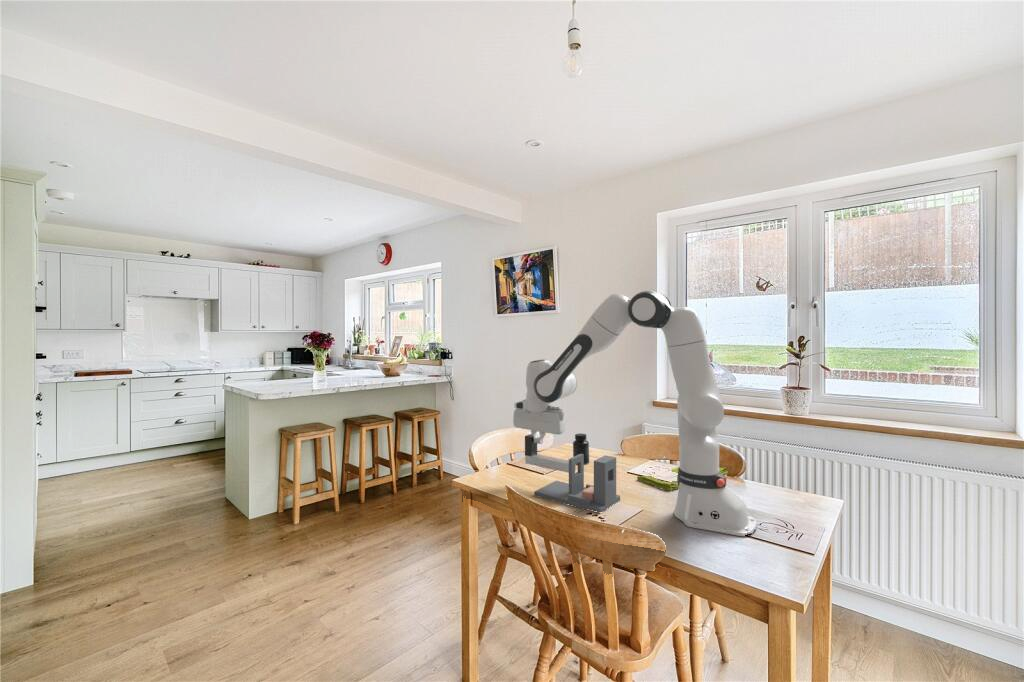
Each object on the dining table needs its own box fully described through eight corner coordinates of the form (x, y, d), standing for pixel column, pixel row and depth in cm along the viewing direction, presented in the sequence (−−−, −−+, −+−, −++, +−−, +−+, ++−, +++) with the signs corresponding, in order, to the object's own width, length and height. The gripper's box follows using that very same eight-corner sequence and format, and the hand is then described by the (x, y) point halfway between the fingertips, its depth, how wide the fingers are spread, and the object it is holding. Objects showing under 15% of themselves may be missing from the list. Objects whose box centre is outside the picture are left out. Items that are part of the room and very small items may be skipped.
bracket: (620, 500, 149) (620, 455, 149) (600, 513, 138) (600, 465, 138) (556, 484, 165) (556, 443, 164) (534, 495, 153) (534, 452, 153)
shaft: (575, 470, 153) (575, 441, 153) (570, 473, 151) (570, 443, 150) (530, 461, 165) (530, 434, 165) (524, 463, 162) (524, 435, 162)
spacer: (591, 486, 151) (591, 493, 151) (581, 491, 147) (581, 498, 147) (601, 488, 149) (601, 496, 149) (592, 493, 144) (592, 501, 144)
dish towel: (635, 481, 169) (635, 473, 169) (694, 465, 189) (694, 458, 188) (669, 493, 156) (669, 484, 156) (729, 475, 176) (729, 467, 176)
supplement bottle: (584, 459, 197) (583, 432, 196) (592, 463, 190) (592, 435, 190) (570, 461, 194) (570, 433, 194) (577, 465, 188) (577, 437, 187)
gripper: (568, 406, 156) (568, 445, 157) (521, 400, 169) (521, 437, 169) (558, 409, 151) (558, 449, 152) (510, 403, 164) (510, 440, 164)
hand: (538, 443), depth 161 cm, fingers closed
